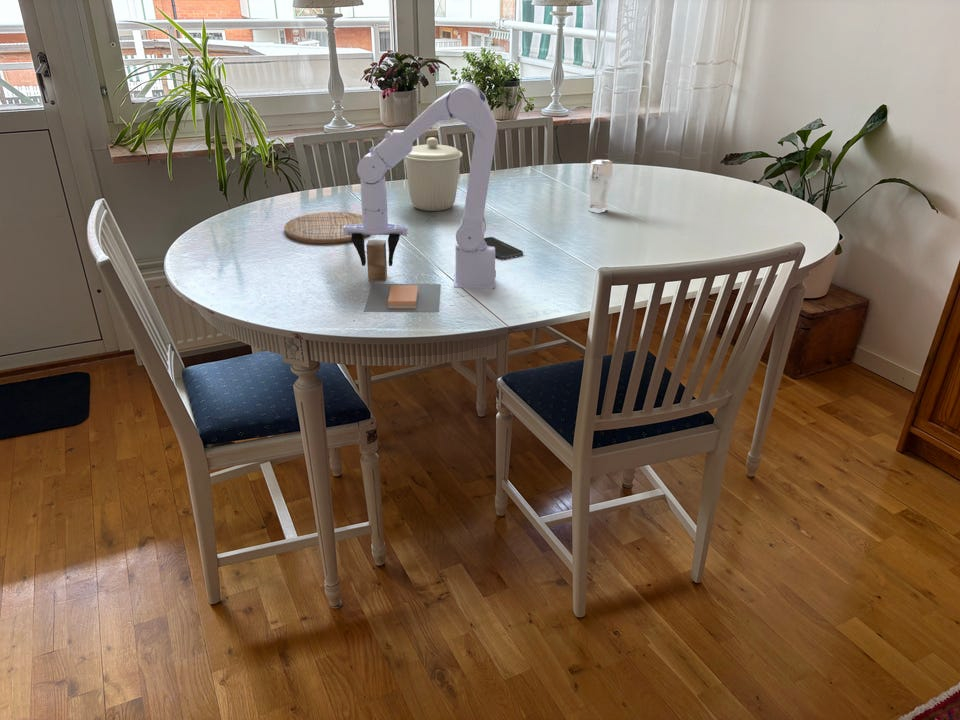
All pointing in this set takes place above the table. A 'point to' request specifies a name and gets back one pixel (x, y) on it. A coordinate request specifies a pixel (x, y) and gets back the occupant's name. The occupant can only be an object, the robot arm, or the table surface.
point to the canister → (433, 175)
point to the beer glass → (599, 182)
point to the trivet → (322, 227)
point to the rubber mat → (425, 303)
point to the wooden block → (376, 260)
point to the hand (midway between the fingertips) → (377, 264)
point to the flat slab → (403, 296)
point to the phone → (502, 248)
